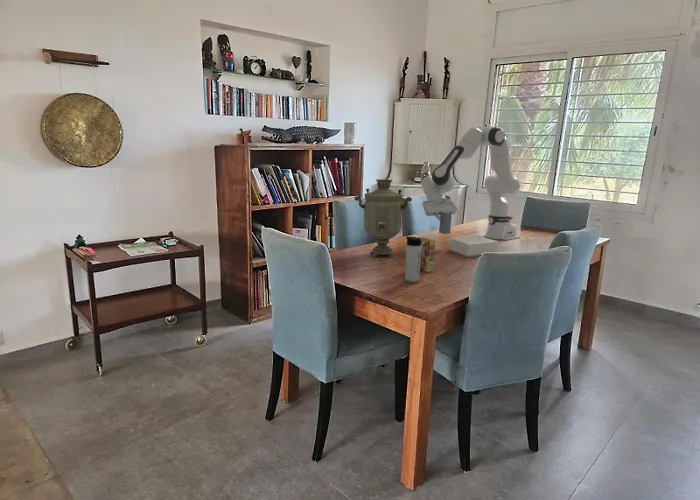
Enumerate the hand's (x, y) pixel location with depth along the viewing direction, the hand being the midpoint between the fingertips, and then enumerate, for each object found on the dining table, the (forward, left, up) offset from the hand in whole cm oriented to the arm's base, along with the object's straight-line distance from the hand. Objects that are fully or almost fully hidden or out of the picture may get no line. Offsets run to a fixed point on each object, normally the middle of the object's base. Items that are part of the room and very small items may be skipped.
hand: (445, 220), depth 261 cm
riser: (-10, +14, -16) cm, 24 cm away
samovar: (+43, +3, -16) cm, 46 cm away
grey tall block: (0, 0, -7) cm, 7 cm away
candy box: (+35, +33, -16) cm, 51 cm away
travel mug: (+50, +46, -16) cm, 70 cm away
